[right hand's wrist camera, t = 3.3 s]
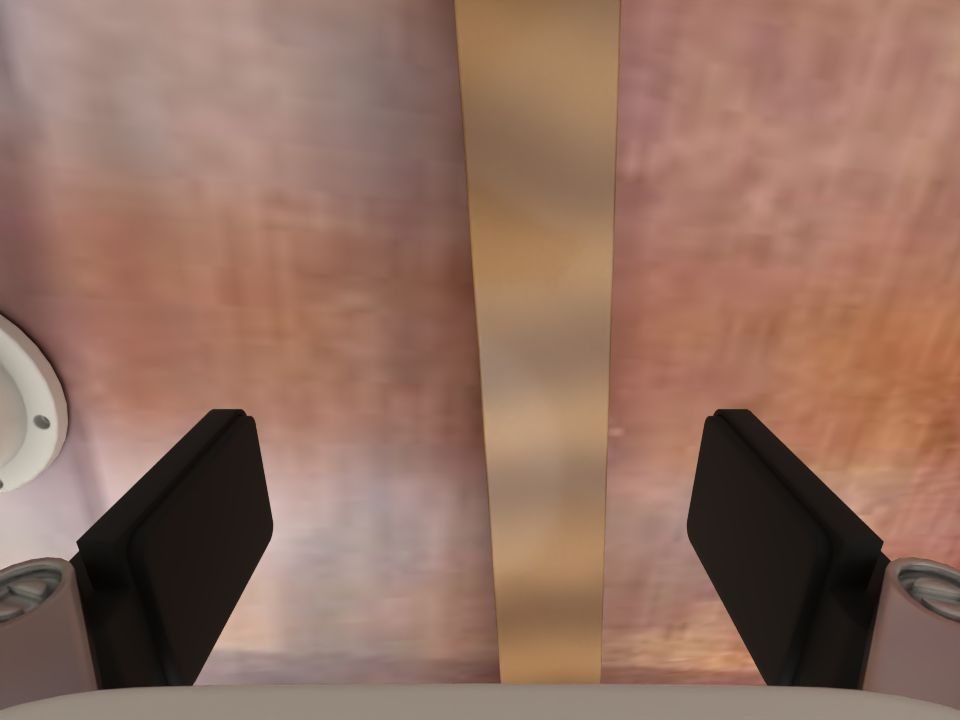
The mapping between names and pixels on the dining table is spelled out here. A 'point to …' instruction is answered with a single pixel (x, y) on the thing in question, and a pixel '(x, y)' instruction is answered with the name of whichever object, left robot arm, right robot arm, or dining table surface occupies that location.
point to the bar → (543, 313)
